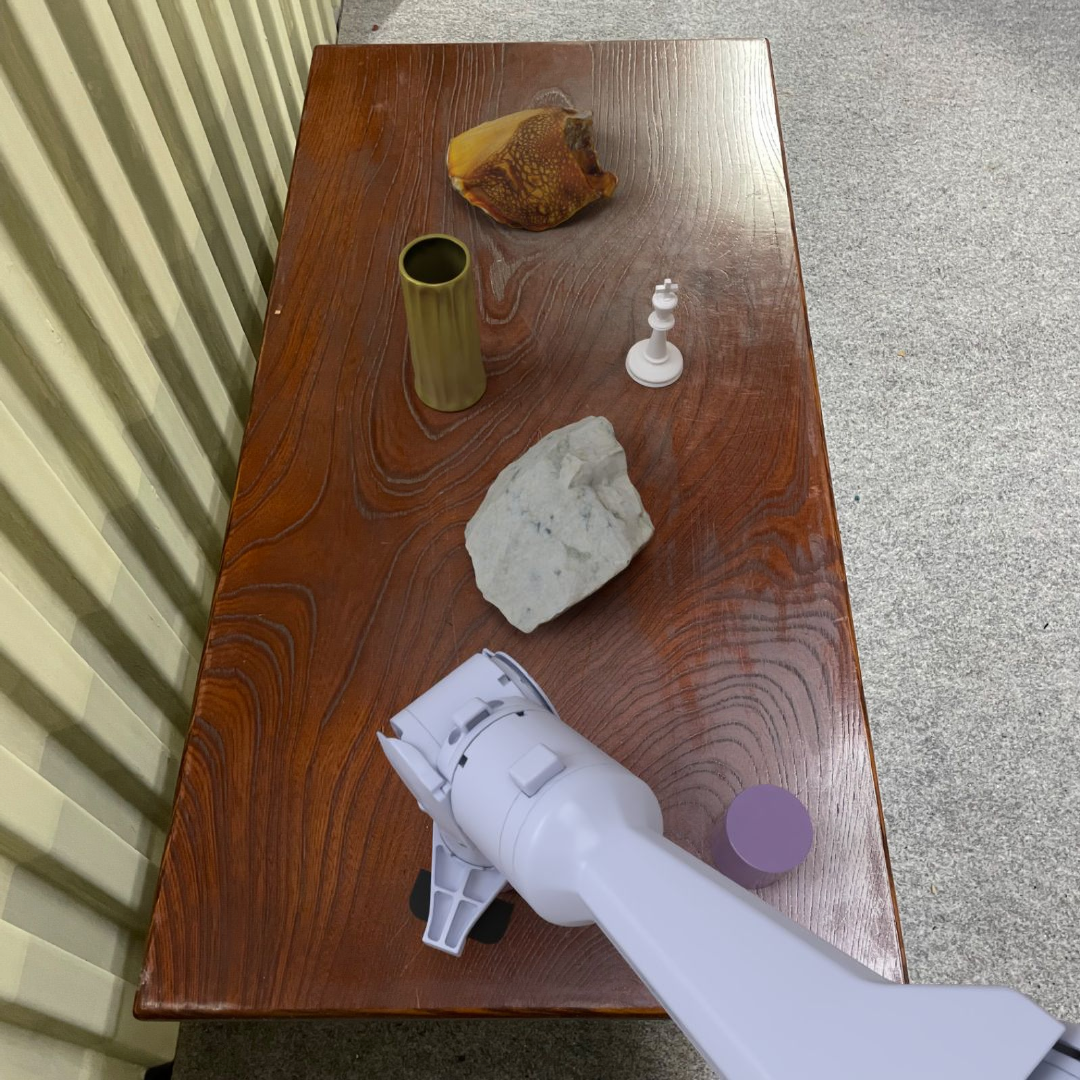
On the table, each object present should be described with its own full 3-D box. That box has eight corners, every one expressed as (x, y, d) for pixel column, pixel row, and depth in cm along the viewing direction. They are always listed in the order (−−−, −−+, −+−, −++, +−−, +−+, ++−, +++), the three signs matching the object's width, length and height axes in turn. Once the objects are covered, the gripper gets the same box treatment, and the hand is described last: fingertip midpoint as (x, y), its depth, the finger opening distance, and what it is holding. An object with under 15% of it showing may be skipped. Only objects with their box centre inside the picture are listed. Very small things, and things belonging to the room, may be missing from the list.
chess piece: (621, 345, 82) (631, 260, 73) (677, 340, 82) (693, 255, 73) (630, 390, 79) (641, 307, 71) (687, 385, 80) (706, 302, 71)
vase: (475, 348, 82) (463, 220, 69) (496, 402, 79) (487, 279, 66) (407, 366, 81) (382, 239, 68) (425, 421, 78) (403, 299, 65)
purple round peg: (776, 902, 60) (799, 887, 55) (699, 867, 61) (714, 850, 56) (799, 826, 62) (824, 805, 57) (725, 794, 63) (741, 770, 58)
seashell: (428, 193, 85) (450, 65, 90) (447, 246, 92) (467, 125, 97) (612, 191, 82) (624, 59, 87) (617, 246, 89) (629, 121, 94)
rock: (416, 515, 74) (403, 458, 67) (581, 424, 78) (586, 361, 71) (523, 667, 67) (521, 622, 60) (696, 558, 72) (713, 505, 65)
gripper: (463, 643, 52) (478, 721, 64) (353, 908, 45) (392, 939, 57) (585, 683, 51) (577, 754, 63) (491, 961, 44) (501, 981, 56)
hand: (496, 845), depth 60 cm, fingers open, 7 cm apart
